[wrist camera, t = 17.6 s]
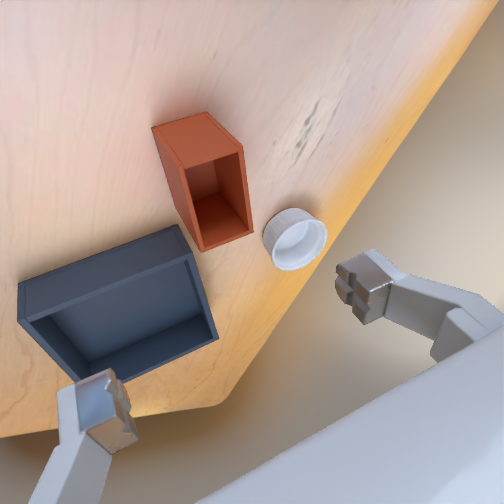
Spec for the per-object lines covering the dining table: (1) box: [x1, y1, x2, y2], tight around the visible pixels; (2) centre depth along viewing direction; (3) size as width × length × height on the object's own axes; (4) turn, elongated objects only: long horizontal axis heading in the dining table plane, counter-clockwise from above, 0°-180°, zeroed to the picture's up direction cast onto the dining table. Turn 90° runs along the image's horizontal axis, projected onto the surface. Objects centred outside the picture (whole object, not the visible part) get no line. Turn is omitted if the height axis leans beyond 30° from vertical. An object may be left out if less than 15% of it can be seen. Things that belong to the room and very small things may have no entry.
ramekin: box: [263, 208, 327, 271], centre depth 52 cm, size 9×9×4 cm
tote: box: [151, 112, 254, 253], centre depth 37 cm, size 6×10×9 cm, turn 8°
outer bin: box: [17, 225, 219, 384], centre depth 46 cm, size 19×18×6 cm
